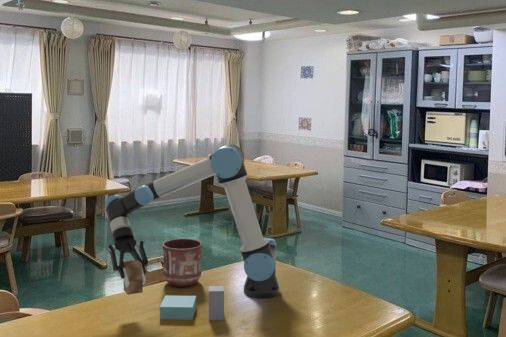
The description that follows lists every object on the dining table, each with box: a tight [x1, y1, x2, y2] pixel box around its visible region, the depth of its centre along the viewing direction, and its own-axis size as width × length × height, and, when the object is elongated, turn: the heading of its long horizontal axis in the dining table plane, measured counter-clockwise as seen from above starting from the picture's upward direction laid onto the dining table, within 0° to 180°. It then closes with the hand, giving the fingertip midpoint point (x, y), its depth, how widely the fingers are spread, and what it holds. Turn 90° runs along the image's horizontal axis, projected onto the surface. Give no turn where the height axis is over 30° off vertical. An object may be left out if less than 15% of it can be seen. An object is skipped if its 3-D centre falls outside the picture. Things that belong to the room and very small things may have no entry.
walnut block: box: [123, 259, 144, 296], centre depth 198 cm, size 6×6×11 cm
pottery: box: [162, 238, 203, 288], centre depth 234 cm, size 18×18×18 cm
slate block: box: [208, 285, 225, 321], centre depth 197 cm, size 6×6×11 cm
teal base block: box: [159, 295, 197, 321], centre depth 201 cm, size 12×12×5 cm
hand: (135, 284), depth 195 cm, fingers closed on walnut block, 5 cm apart
